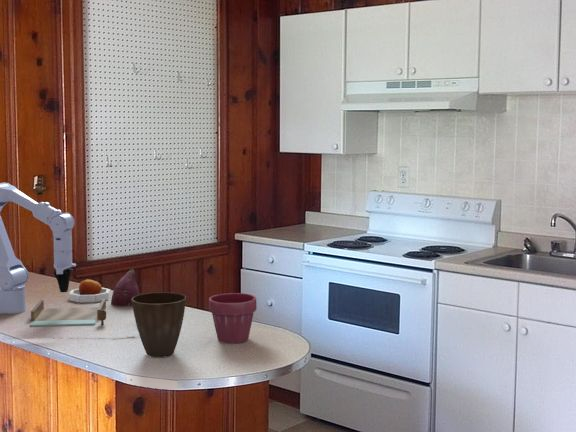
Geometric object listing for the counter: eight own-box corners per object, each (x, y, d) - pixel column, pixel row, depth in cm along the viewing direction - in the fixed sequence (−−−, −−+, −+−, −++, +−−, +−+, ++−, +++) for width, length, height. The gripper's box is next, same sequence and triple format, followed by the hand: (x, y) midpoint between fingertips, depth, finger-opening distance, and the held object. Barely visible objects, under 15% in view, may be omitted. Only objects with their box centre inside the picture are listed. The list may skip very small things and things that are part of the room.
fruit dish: (67, 302, 280) (67, 295, 279) (73, 294, 293) (73, 287, 293) (107, 301, 281) (107, 295, 281) (111, 293, 295) (111, 286, 295)
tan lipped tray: (31, 324, 250) (30, 311, 250) (40, 312, 266) (40, 300, 266) (100, 322, 253) (100, 309, 252) (106, 310, 269) (105, 298, 268)
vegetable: (142, 312, 280) (153, 271, 280) (133, 315, 270) (145, 273, 269) (114, 304, 281) (125, 263, 281) (105, 307, 271) (116, 265, 270)
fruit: (71, 296, 283) (77, 275, 286) (81, 303, 290) (87, 283, 293) (91, 298, 280) (96, 277, 284) (101, 305, 287) (106, 284, 291)
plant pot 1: (122, 353, 220) (120, 297, 218) (165, 343, 230) (165, 289, 228) (153, 365, 209) (152, 306, 207) (197, 354, 220) (197, 297, 218)
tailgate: (34, 324, 250) (29, 328, 243) (34, 320, 250) (29, 325, 243) (97, 322, 252) (94, 327, 245) (97, 319, 252) (94, 323, 245)
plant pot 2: (203, 335, 238) (203, 294, 237) (248, 331, 243) (248, 290, 242) (216, 348, 225) (216, 304, 224) (262, 343, 230) (263, 301, 228)
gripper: (71, 254, 249) (72, 296, 251) (79, 247, 263) (79, 286, 265) (48, 254, 248) (50, 296, 250) (57, 247, 263) (58, 287, 264)
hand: (64, 291), depth 258 cm, fingers closed
